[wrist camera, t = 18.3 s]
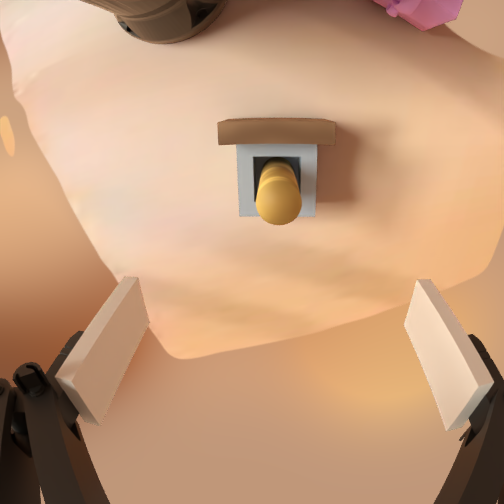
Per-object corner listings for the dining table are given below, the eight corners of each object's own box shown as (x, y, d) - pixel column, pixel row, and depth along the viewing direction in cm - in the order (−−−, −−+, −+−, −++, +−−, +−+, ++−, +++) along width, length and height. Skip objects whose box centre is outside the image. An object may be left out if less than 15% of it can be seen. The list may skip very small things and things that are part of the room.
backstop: (228, 119, 37) (217, 122, 30) (323, 118, 36) (335, 122, 29) (229, 137, 38) (218, 145, 31) (323, 137, 37) (335, 145, 30)
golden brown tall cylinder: (261, 187, 39) (256, 225, 28) (261, 156, 38) (255, 181, 26) (293, 187, 39) (301, 225, 28) (293, 156, 37) (302, 181, 26)
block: (240, 136, 38) (236, 141, 33) (312, 136, 37) (317, 141, 32) (243, 203, 42) (239, 216, 37) (310, 203, 41) (315, 216, 36)
